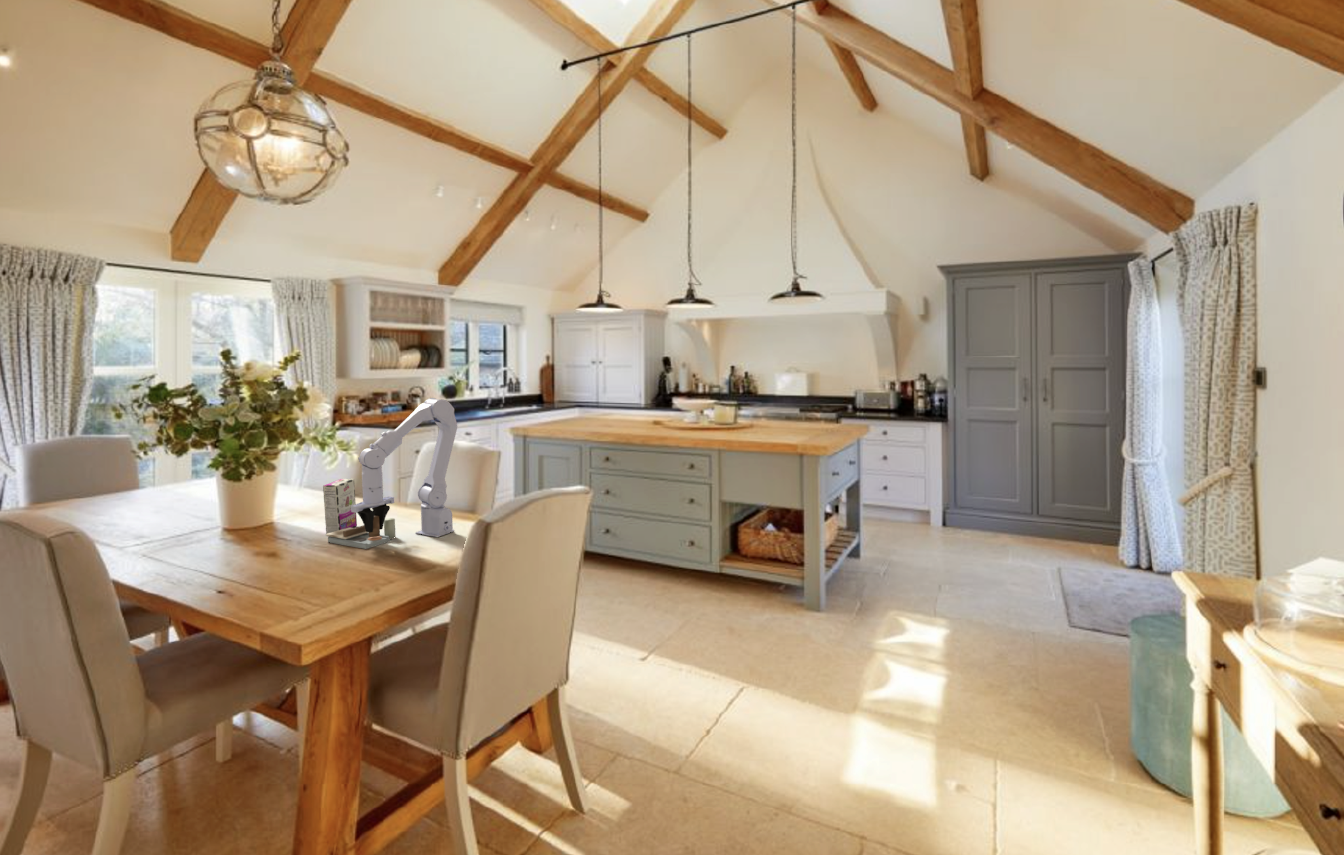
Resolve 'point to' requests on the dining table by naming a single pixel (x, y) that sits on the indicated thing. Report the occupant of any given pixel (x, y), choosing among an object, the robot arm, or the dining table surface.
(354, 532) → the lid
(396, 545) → the dining table surface
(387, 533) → the sage peg
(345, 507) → the candy bar box
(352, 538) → the board
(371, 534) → the walnut peg
